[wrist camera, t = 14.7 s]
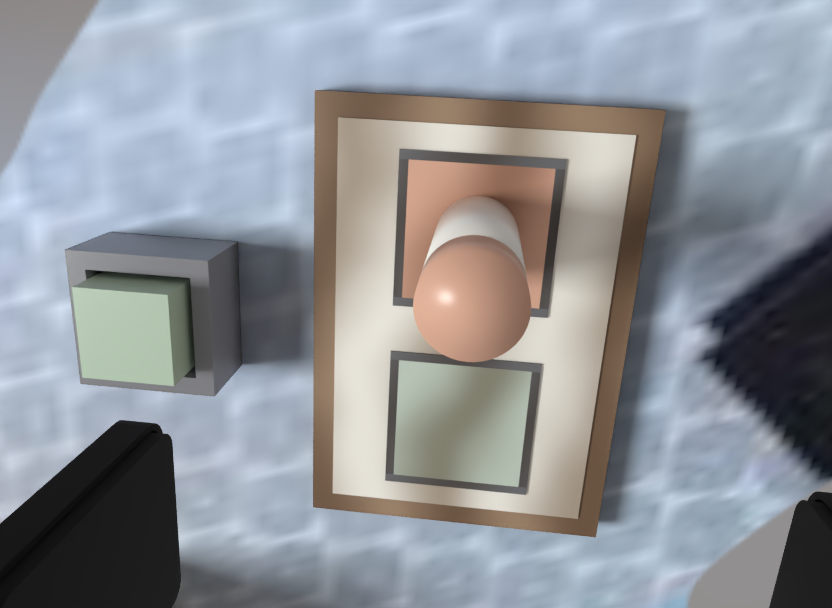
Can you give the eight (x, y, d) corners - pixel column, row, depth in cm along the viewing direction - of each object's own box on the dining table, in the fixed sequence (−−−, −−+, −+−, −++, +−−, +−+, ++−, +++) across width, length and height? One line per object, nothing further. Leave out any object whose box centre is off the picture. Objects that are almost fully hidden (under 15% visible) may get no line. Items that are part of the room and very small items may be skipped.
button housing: (237, 241, 31) (207, 260, 28) (241, 365, 33) (214, 396, 30) (109, 231, 31) (64, 249, 28) (120, 353, 33) (80, 383, 30)
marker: (522, 198, 28) (537, 255, 19) (514, 279, 29) (525, 366, 20) (437, 193, 28) (415, 247, 19) (433, 273, 29) (410, 357, 21)
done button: (193, 277, 29) (167, 295, 27) (198, 362, 30) (173, 386, 28) (105, 270, 29) (71, 287, 27) (113, 354, 31) (82, 377, 28)
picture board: (658, 109, 27) (666, 110, 26) (591, 521, 34) (596, 540, 32) (321, 89, 29) (313, 90, 27) (318, 493, 35) (312, 509, 34)
